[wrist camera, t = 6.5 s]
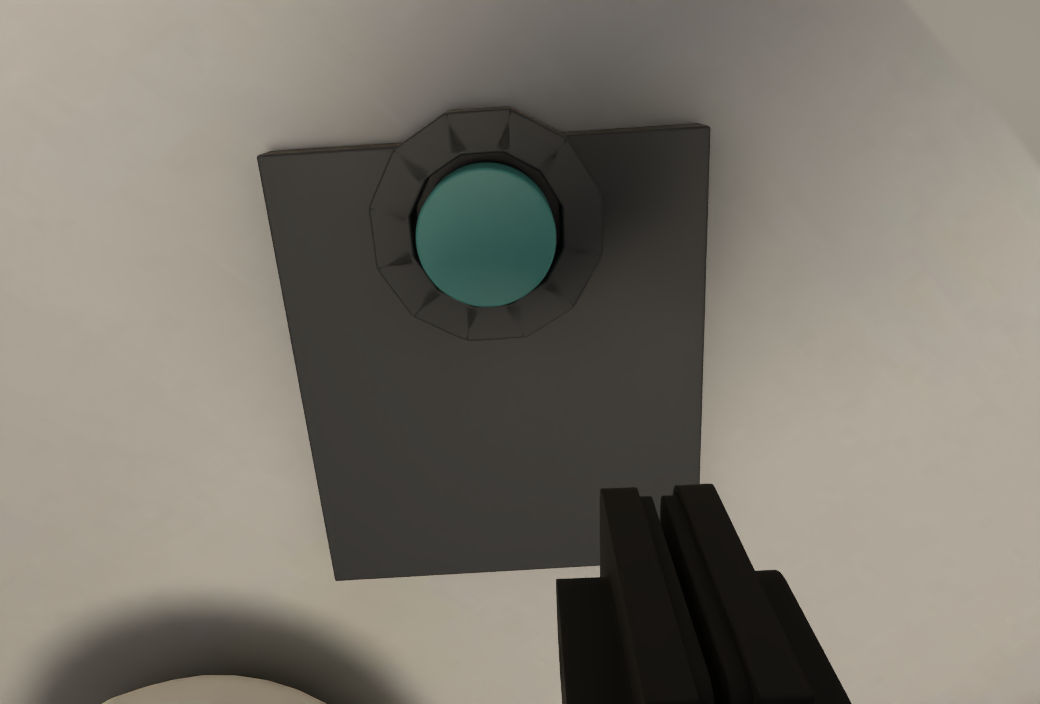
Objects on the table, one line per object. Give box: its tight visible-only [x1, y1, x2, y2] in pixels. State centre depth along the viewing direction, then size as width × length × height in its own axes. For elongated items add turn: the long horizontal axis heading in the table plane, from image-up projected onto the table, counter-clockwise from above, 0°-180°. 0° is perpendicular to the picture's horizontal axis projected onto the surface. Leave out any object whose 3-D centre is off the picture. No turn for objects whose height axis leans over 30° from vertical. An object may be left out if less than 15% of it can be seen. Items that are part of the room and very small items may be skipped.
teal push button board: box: [257, 106, 710, 581], centre depth 25 cm, size 17×14×3 cm
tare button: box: [416, 162, 556, 307], centre depth 21 cm, size 4×4×2 cm
